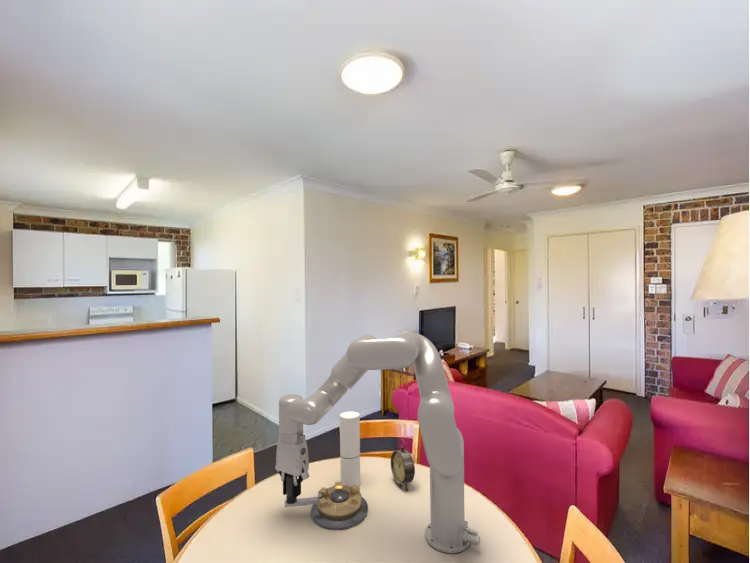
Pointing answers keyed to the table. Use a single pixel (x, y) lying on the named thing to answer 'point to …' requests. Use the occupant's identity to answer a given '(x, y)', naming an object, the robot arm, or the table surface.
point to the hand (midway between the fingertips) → (292, 493)
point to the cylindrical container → (350, 448)
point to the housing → (339, 523)
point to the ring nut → (329, 500)
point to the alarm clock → (402, 466)
